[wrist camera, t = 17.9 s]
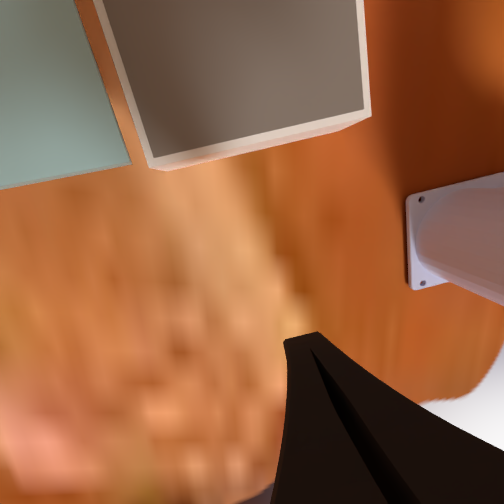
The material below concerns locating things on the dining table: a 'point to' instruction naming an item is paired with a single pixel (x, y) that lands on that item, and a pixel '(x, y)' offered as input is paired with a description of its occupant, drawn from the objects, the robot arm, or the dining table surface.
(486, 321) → the dining table surface
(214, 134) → the carton
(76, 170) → the side flap
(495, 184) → the robot arm
